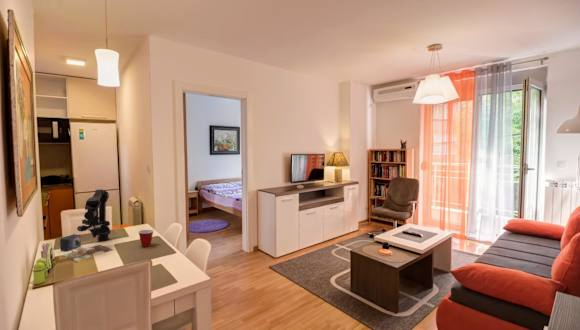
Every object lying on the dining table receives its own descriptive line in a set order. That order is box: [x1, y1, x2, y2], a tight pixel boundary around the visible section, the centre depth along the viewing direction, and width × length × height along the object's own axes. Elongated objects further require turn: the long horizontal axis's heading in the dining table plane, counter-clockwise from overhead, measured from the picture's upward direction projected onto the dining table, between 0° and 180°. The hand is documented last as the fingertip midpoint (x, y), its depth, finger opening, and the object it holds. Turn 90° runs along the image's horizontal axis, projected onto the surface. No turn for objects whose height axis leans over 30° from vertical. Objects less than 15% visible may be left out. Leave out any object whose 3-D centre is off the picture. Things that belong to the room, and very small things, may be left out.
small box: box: [59, 233, 82, 252], centre depth 203 cm, size 11×6×10 cm, turn 168°
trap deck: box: [63, 244, 115, 264], centre depth 196 cm, size 23×20×3 cm
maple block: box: [71, 246, 87, 257], centre depth 191 cm, size 6×6×4 cm
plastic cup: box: [138, 229, 155, 248], centre depth 213 cm, size 11×11×12 cm
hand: (94, 237), depth 200 cm, fingers closed
